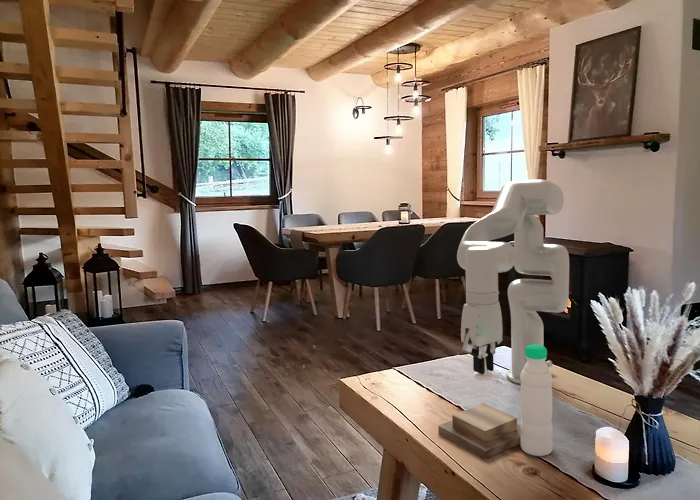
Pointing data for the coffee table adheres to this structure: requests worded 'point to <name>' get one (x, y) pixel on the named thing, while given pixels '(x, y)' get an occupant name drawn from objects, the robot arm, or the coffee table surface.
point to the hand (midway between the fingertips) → (483, 370)
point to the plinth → (478, 444)
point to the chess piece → (487, 374)
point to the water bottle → (536, 403)
